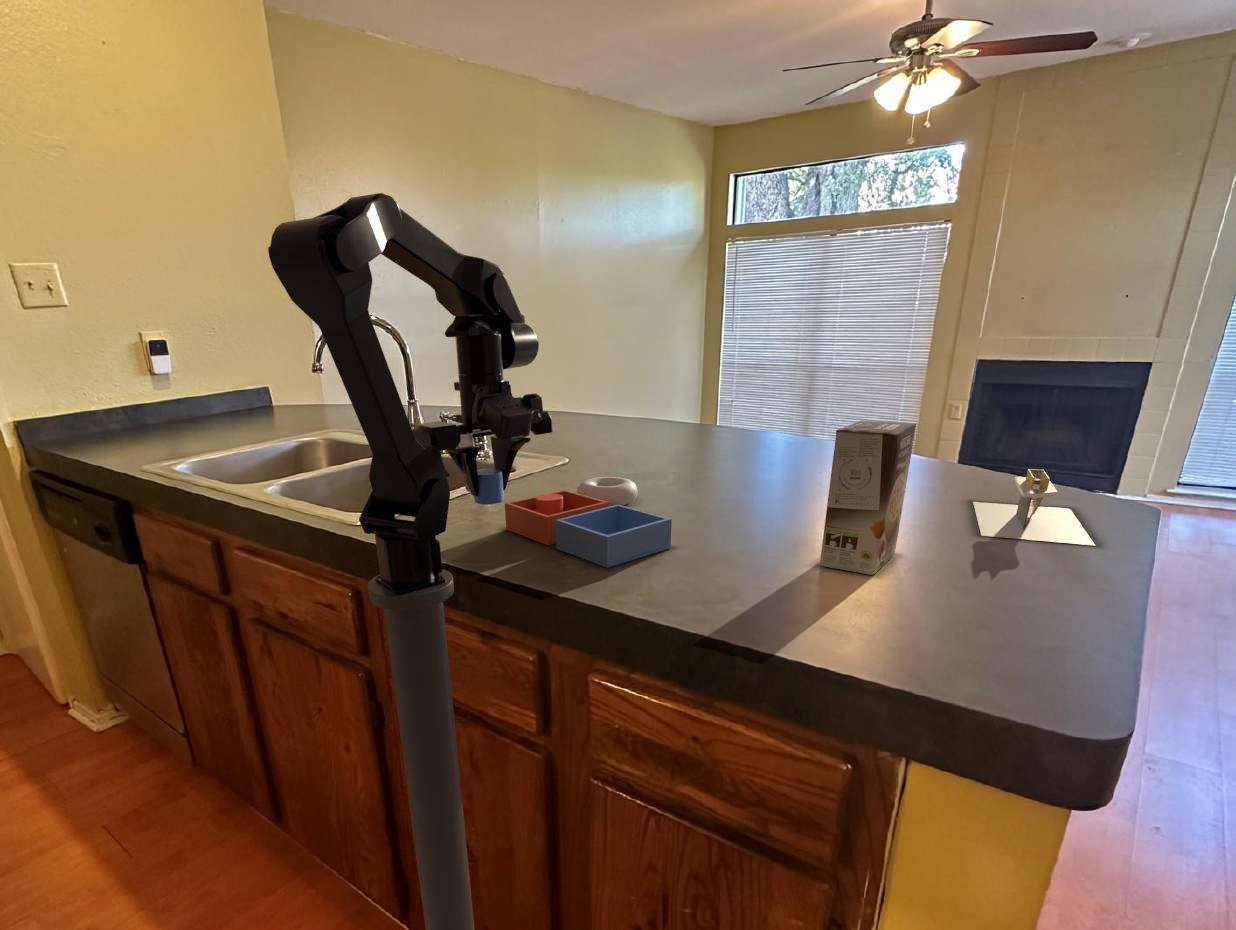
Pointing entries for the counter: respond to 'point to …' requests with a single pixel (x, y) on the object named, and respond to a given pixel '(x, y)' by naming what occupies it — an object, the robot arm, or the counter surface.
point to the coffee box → (866, 494)
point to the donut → (609, 490)
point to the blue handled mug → (489, 486)
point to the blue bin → (613, 535)
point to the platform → (1031, 516)
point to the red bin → (542, 526)
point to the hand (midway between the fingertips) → (488, 493)
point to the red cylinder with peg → (549, 504)
